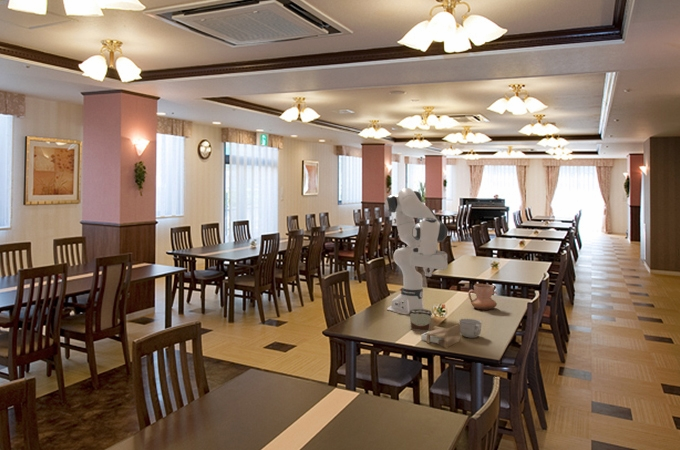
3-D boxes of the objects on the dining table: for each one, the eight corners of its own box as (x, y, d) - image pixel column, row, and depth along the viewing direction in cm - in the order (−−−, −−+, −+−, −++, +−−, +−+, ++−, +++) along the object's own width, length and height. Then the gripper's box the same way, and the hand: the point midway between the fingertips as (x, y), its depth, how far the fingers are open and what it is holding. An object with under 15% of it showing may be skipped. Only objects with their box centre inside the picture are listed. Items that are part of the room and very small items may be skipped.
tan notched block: (421, 342, 246) (421, 325, 246) (434, 335, 257) (435, 319, 257) (447, 347, 238) (447, 330, 237) (460, 340, 249) (460, 324, 248)
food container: (433, 328, 271) (434, 309, 270) (431, 331, 265) (432, 312, 264) (410, 326, 275) (410, 307, 274) (408, 329, 269) (408, 310, 268)
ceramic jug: (500, 307, 317) (500, 284, 317) (494, 312, 305) (495, 288, 304) (471, 305, 326) (471, 282, 326) (465, 309, 314) (465, 286, 313)
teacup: (456, 333, 261) (456, 317, 261) (477, 332, 262) (477, 317, 262) (465, 341, 248) (465, 325, 247) (487, 341, 249) (487, 324, 248)
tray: (421, 340, 250) (421, 334, 250) (428, 336, 256) (428, 331, 256) (447, 346, 242) (447, 339, 241) (454, 342, 248) (454, 335, 248)
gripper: (450, 251, 259) (449, 278, 261) (414, 247, 272) (414, 272, 273) (444, 252, 254) (443, 279, 256) (408, 248, 267) (408, 274, 268)
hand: (428, 276), depth 264 cm, fingers closed
